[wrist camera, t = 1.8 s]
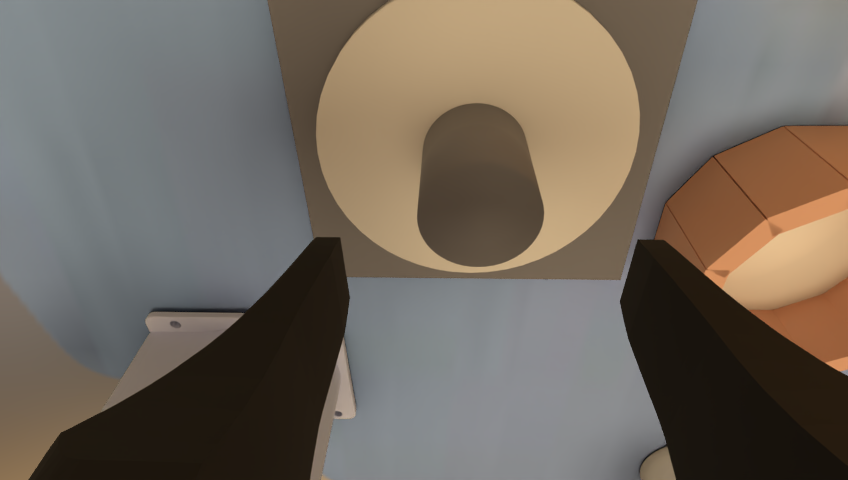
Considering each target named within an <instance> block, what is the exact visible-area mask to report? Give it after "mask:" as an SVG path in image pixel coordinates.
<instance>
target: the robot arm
mask: <svg viewBox="0 0 848 480" xmlns="http://www.w3.org/2000/svg"><path fill="white" fill-rule="evenodd" d="M349 299H350V296H349V289H348V283H347V277H346V270H345V264H344V257H343V251H342V244H341V238H340V237H316V238H315V239H314V240H312V242H311V243H310V244H309V245H308V246H307V247H306V248H305V250H304V251H303V252H302V253H301V254H300V255H299V257H298V258H297V259H296V260H295V261H294V262H293V263H292V265H291V266H290V267H289V268H288V269H287V270H286V271H285V273H284V274H283V275H282V276H281V277H280V278H279V279H278V280H277V281H276V282H275V283H274V284H273V285H272V287H271V288H270V289H269V290H268V291H267V292H266V293H265V294H264V295H263V296H262V297H261V298H260V299H259V300H258V301H257V302H256V303H255V304H254V305H253V306H252V307H251V308H250V309H249V310H248V311H247V312H245V313H205V312H151V313H150V314H149V315H148V316H147V318H146V320H145V322H146V325H147V327H148V329H149V331H150V333H149V335H148V337H147V338H146V340H145V341H144V343H143V345H142V346H141V348H140V349H139V351H138V353H137V354H136V356H135V357H134V359H133V361H132V362H131V364H130V365H129V367H128V369H127V370H126V372H125V373H124V375H123V377H122V378H121V380H120V381H119V383H118V385H117V386H116V388H115V389H114V391H113V393H112V394H111V396H110V397H109V399H108V401H107V402H106V404H105V405H104V407H103V409H102V410H101V412H100V413H99V414H97V415H95V416H93V417H91V418H89V419H87V420H85V421H83V422H81V423H80V424H78V425H76V426H74V427H72V428H70V429H68V430H66V431H64V432H61V433H60V435H59V436H58V437H57V439H56V440H55V441H54V443H53V444H52V446H51V447H50V449H49V450H48V452H47V453H46V454H45V456H44V457H43V459H42V460H41V462H40V463H39V465H38V467H37V468H36V469H35V471H34V472H33V474H32V475H31V477H30V478H29V480H321V476H322V471H323V467H324V462H325V457H326V452H327V447H328V443H329V438H330V433H331V428H332V423H333V419H351V418H353V417H354V416H355V415H356V403H355V398H354V392H353V386H352V381H351V375H350V369H349V363H348V358H347V352H346V346H345V340H344V333H345V327H346V321H347V314H348V307H349ZM620 304H621V309H622V314H623V318H624V323H625V327H626V331H627V335H628V339H629V342H630V345H631V348H632V350H633V353H634V356H635V358H636V361H637V364H638V366H639V369H640V372H641V374H642V377H643V379H644V382H645V385H646V387H647V390H648V392H649V395H650V398H651V400H652V403H653V405H654V408H655V411H656V413H657V416H658V419H659V421H660V424H661V427H662V430H663V433H664V436H665V440H666V444H667V447H668V451H669V455H670V459H671V463H672V466H673V470H674V474H675V478H676V480H848V376H847V375H845V374H843V373H841V372H840V371H838V370H836V369H834V368H833V367H831V366H829V365H828V364H826V363H824V362H823V361H821V360H819V359H818V358H816V357H815V356H813V355H812V354H810V353H809V352H807V351H806V350H804V349H802V348H801V347H799V346H798V345H796V344H795V343H793V342H792V341H790V340H789V339H787V338H786V337H784V336H783V335H781V334H780V333H778V332H777V331H776V330H774V329H773V328H771V327H770V326H769V325H767V324H766V323H765V322H763V321H762V320H761V319H759V318H758V317H757V316H755V315H754V314H753V313H751V312H750V311H749V310H747V309H746V308H745V307H744V306H742V305H741V304H740V303H738V302H737V301H736V300H735V299H733V298H732V297H731V296H730V295H729V294H727V293H726V292H725V291H724V290H722V289H721V288H720V287H719V286H718V285H716V284H715V283H714V282H713V281H712V280H711V279H709V278H708V277H707V276H706V275H705V274H704V273H702V272H701V271H700V270H699V269H698V268H697V267H696V266H694V265H693V264H692V263H691V262H690V261H689V260H687V259H686V258H685V257H684V256H683V255H682V254H681V253H679V252H678V251H677V250H676V249H675V248H673V247H672V246H671V245H670V244H669V243H667V242H666V241H665V240H638V241H637V244H636V247H635V251H634V254H633V258H632V261H631V265H630V268H629V272H628V275H627V279H626V282H625V286H624V289H623V293H622V296H621V300H620Z"/></svg>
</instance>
